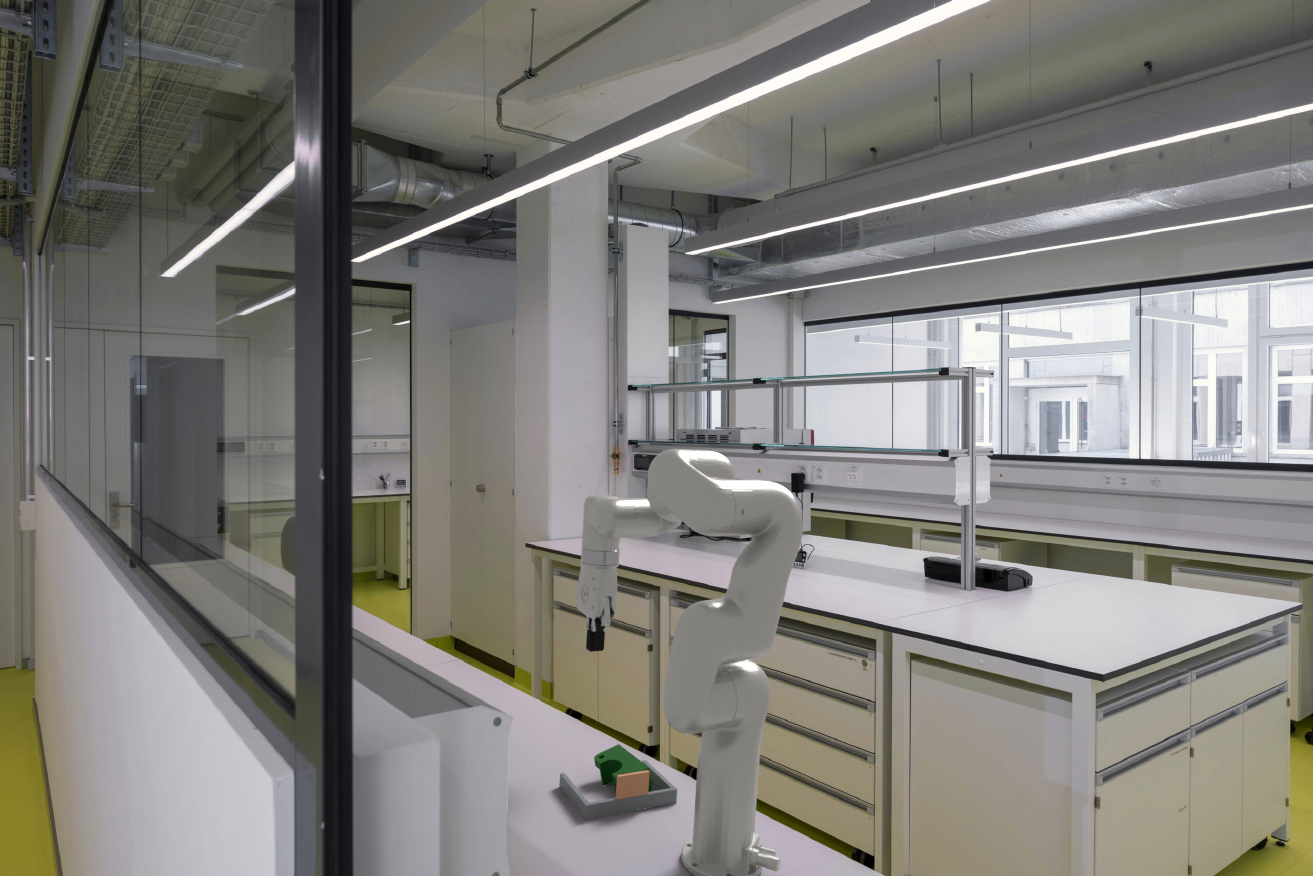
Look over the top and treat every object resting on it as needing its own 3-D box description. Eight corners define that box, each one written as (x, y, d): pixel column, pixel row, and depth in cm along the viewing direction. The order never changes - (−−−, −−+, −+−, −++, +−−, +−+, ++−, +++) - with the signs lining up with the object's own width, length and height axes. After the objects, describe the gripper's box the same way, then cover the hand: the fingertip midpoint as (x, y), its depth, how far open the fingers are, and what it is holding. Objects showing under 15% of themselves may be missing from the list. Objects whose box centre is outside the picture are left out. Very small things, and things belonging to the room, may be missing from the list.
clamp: (603, 805, 147) (588, 757, 148) (630, 791, 150) (615, 744, 152) (629, 808, 137) (612, 756, 138) (658, 793, 140) (640, 743, 142)
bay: (559, 787, 143) (561, 752, 143) (644, 772, 151) (646, 739, 151) (585, 820, 132) (587, 782, 132) (676, 803, 140) (678, 767, 140)
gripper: (568, 552, 159) (563, 641, 159) (597, 564, 146) (591, 662, 146) (602, 551, 162) (597, 639, 163) (633, 563, 149) (628, 659, 149)
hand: (594, 649), depth 154 cm, fingers closed
